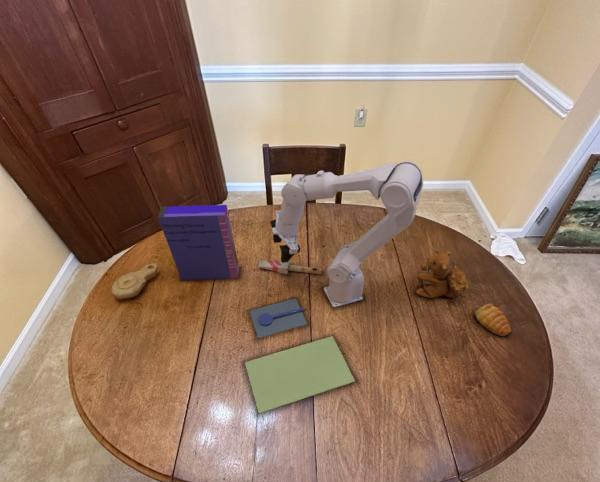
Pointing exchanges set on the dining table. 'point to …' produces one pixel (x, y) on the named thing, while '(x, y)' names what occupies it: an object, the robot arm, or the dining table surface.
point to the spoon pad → (280, 322)
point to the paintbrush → (286, 267)
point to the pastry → (493, 319)
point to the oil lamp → (133, 282)
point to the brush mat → (297, 374)
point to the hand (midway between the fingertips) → (280, 251)
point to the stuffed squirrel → (441, 278)
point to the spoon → (275, 316)
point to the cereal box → (200, 241)
